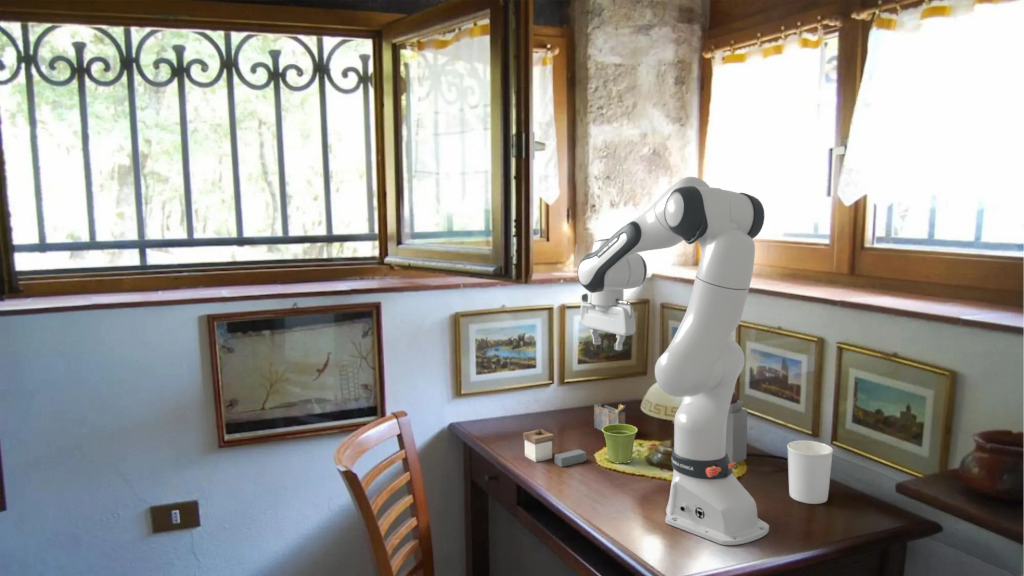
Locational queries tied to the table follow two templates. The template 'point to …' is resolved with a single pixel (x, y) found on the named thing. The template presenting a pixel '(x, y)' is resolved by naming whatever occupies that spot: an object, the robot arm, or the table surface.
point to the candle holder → (809, 471)
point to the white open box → (538, 451)
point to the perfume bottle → (736, 430)
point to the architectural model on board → (608, 416)
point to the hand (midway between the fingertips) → (607, 347)
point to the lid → (538, 436)
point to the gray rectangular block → (570, 458)
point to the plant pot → (619, 441)
